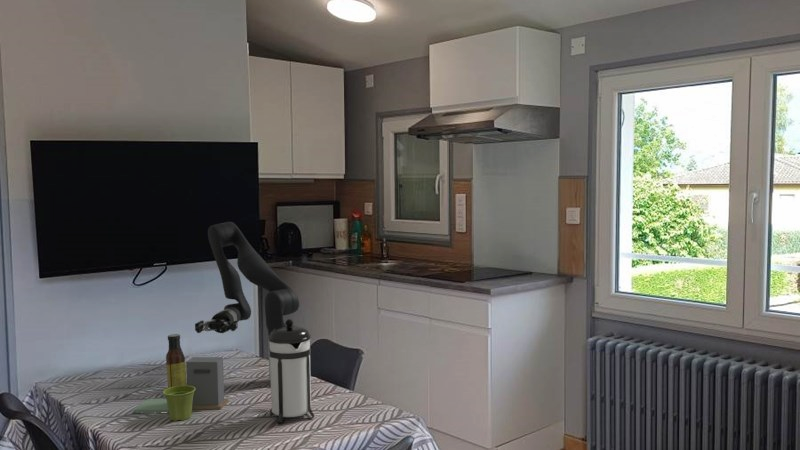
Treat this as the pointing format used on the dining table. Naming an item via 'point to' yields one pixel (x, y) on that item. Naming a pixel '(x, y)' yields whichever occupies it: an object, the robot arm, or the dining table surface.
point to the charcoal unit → (206, 382)
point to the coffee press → (290, 372)
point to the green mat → (153, 406)
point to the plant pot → (179, 401)
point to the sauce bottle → (175, 363)
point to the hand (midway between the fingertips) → (210, 330)
